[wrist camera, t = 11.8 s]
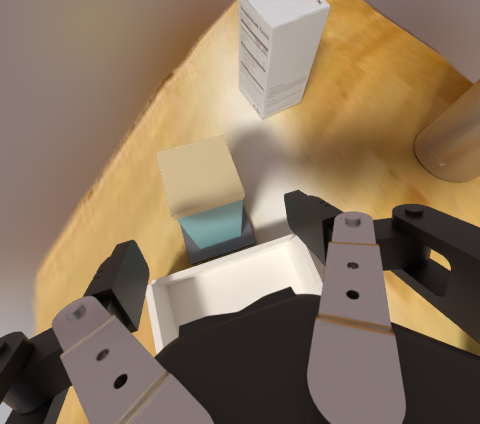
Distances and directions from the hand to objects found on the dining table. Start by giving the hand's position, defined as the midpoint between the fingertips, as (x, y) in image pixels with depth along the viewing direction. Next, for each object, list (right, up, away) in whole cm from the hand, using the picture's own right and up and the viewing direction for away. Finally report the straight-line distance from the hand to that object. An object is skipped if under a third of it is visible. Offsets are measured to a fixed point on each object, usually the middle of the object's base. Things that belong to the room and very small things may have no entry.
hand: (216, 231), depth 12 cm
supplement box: (+6, +19, +24) cm, 31 cm away
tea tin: (-2, 0, +15) cm, 16 cm away
